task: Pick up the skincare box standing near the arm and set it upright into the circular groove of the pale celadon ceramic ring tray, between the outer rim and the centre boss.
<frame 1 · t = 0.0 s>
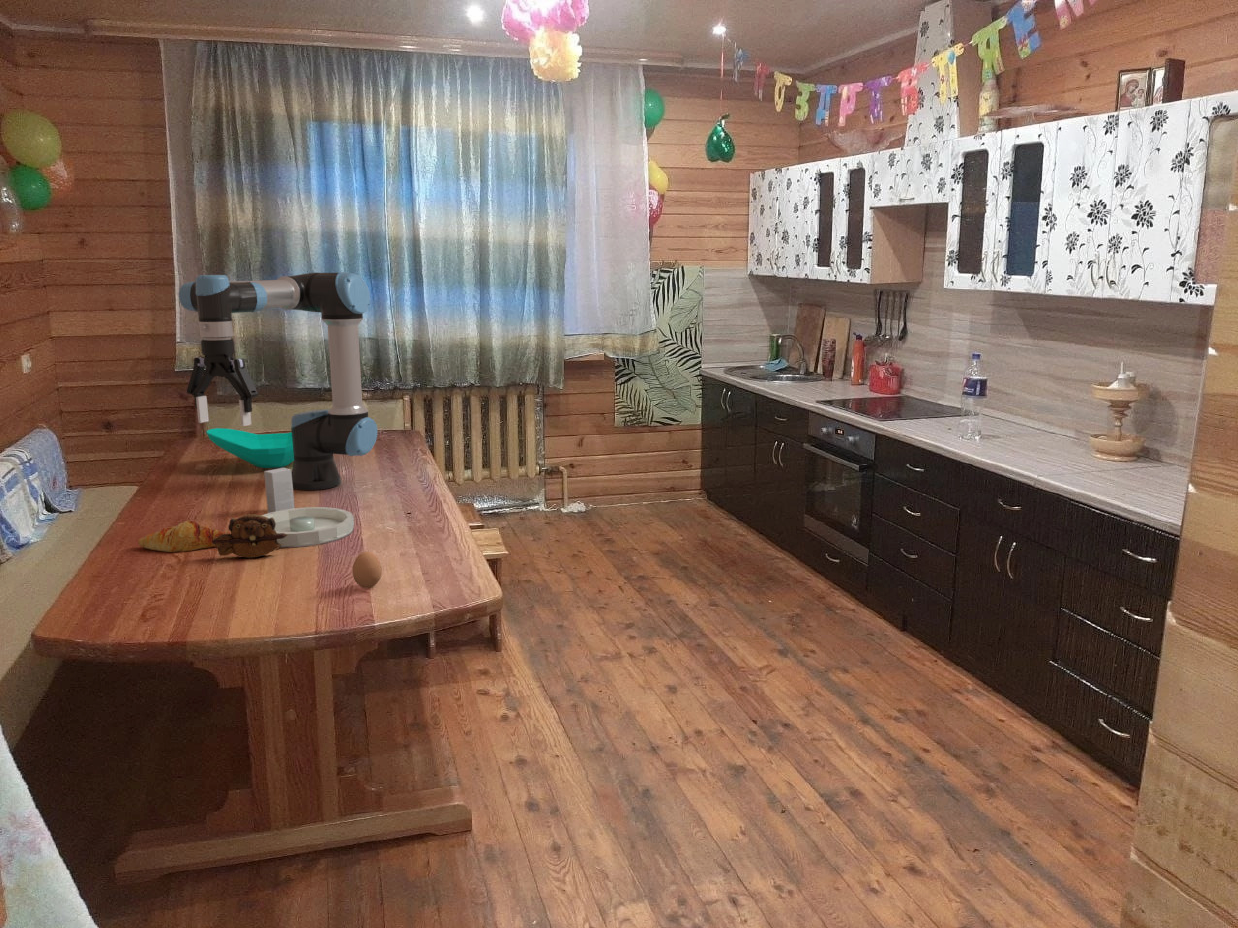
hand: (224, 423, 234), 28 cm above the table, tool pointing down, fingers open, 13 cm apart
croissant: (185, 548, 227), on the table
wooden carving: (251, 558, 219), on the table
egg: (368, 588, 198), on the table
table top decor: (272, 467, 316), on the table
ring tray: (302, 532, 238), on the table
skincare box: (281, 513, 258), on the table
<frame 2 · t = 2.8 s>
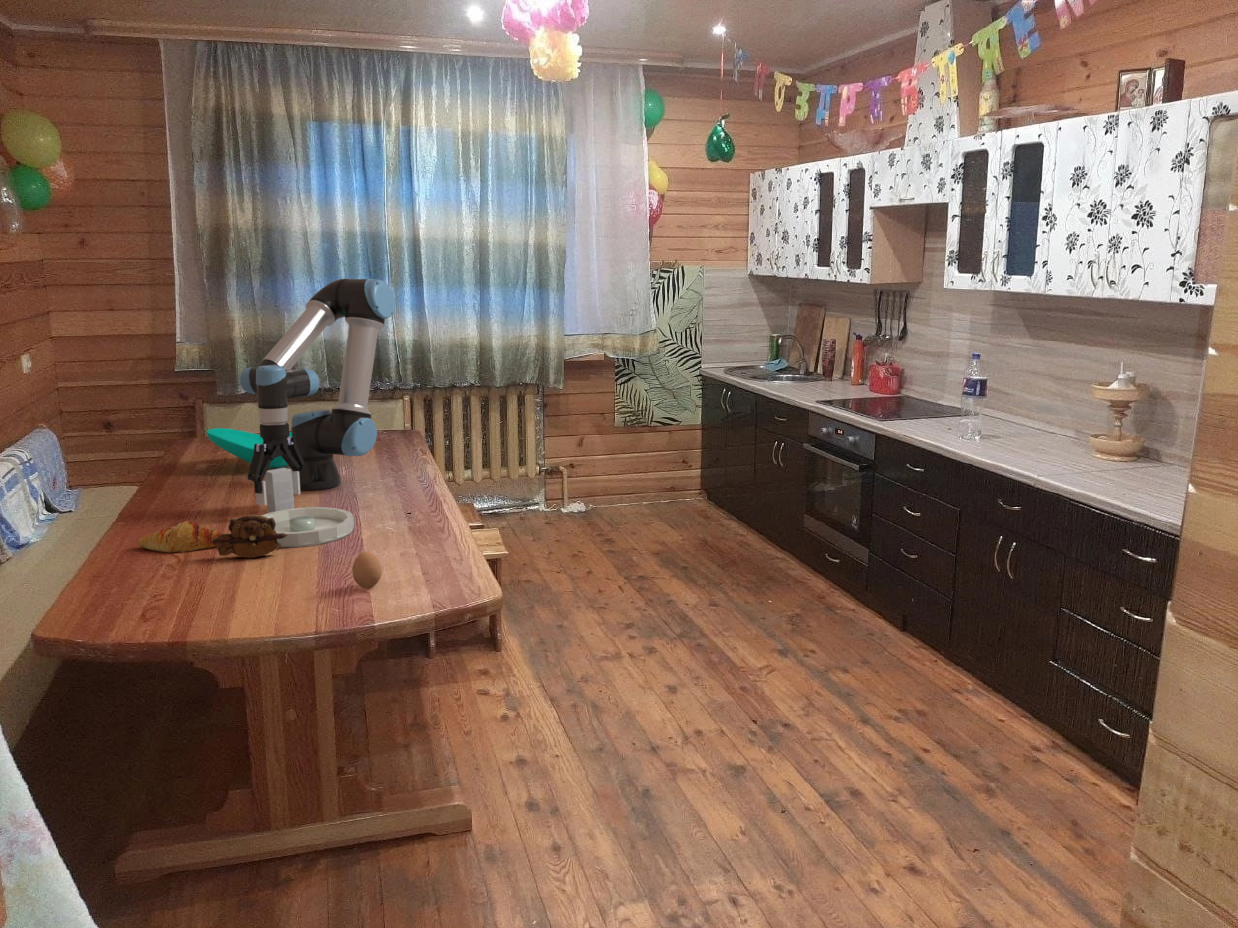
hand: (279, 499, 257), 4 cm above the table, tool pointing down, fingers open, 13 cm apart
nothing on the table moved.
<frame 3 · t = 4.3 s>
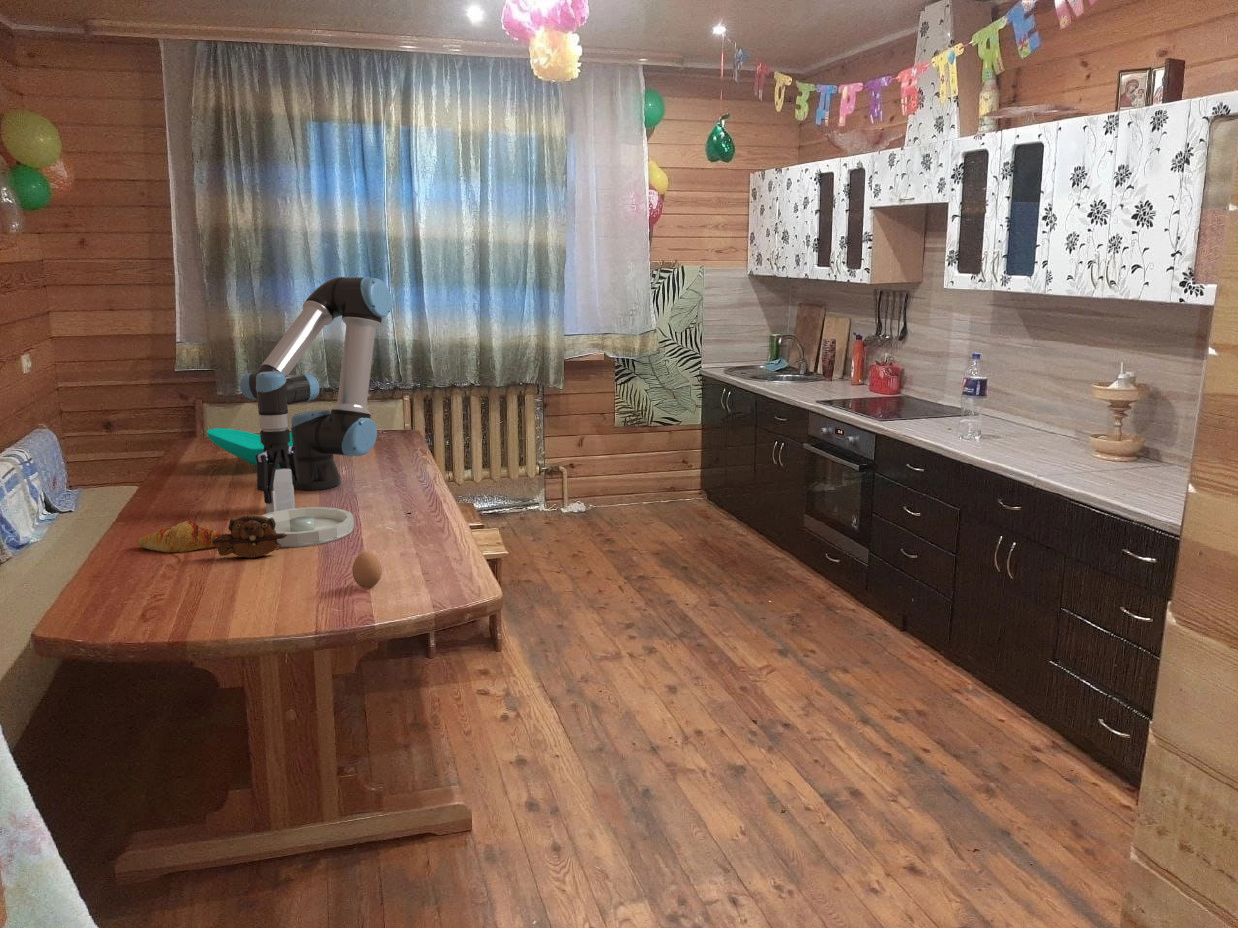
hand: (281, 510, 258), 0 cm above the table, tool pointing down, fingers closed on skincare box, 7 cm apart
skincare box: (281, 512, 258), on the table, touching gripper
everything else where it was.
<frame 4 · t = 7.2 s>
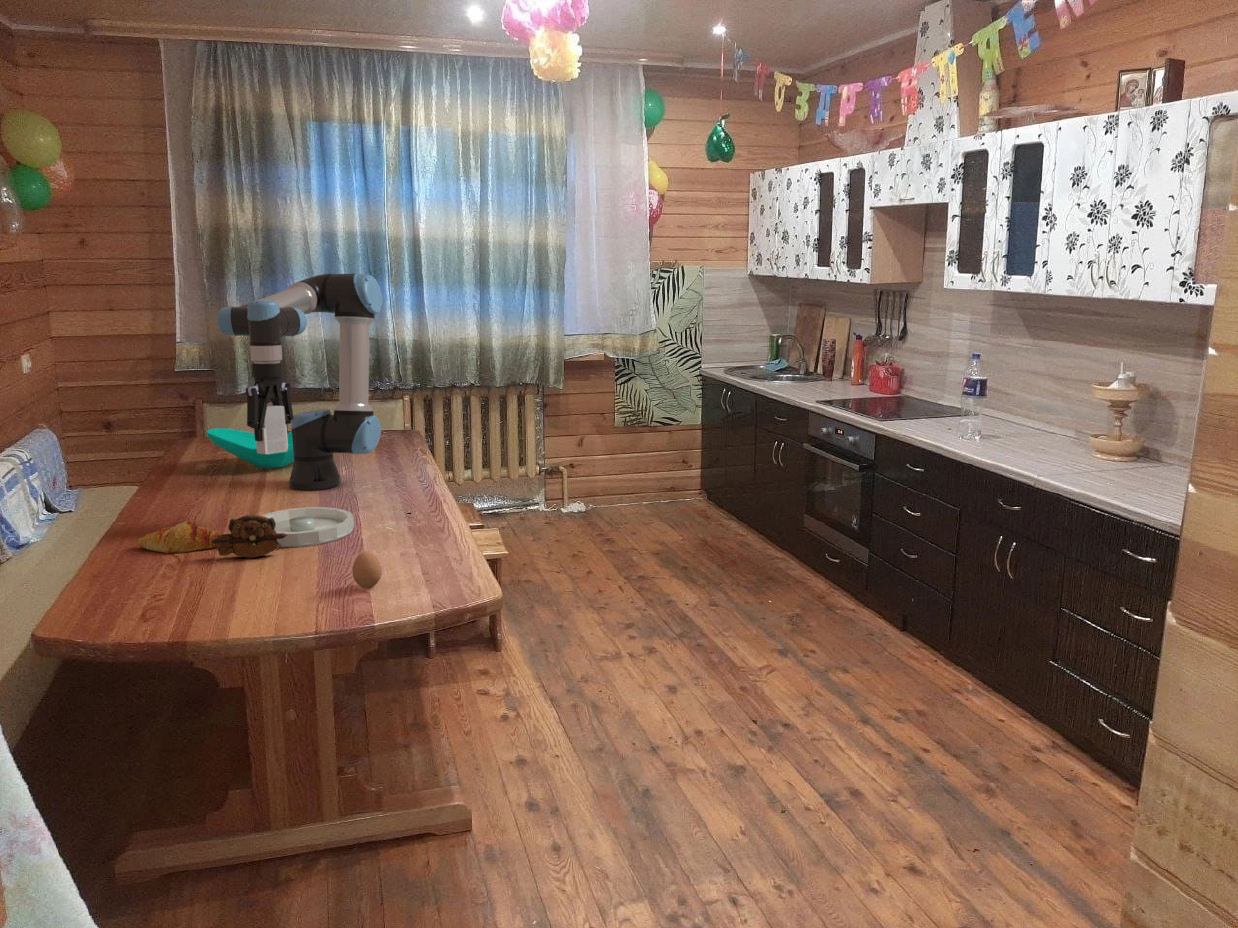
hand: (272, 450, 241), 20 cm above the table, tool pointing down, fingers closed on skincare box, 7 cm apart
skincare box: (272, 453, 242), point 19 cm above the table, touching gripper
everything else where it was.
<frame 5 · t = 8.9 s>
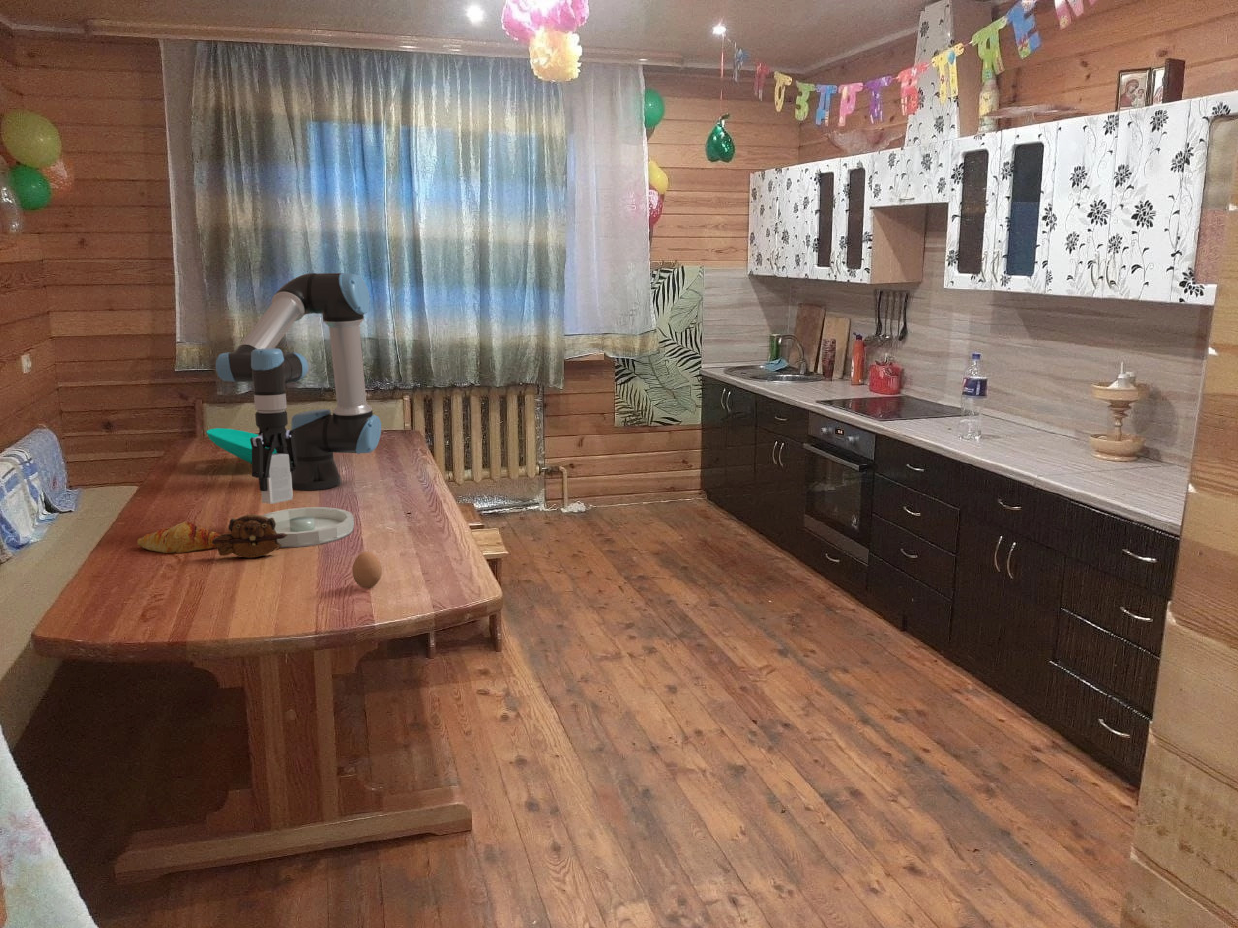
hand: (277, 499, 239), 8 cm above the table, tool pointing down, fingers closed on skincare box, 7 cm apart
skincare box: (277, 501, 239), point 8 cm above the table, touching gripper
everything else where it was.
when the fingers open (3 cm above the table, at t = 10.3 s): skincare box drops 2 cm, resting on ring tray.
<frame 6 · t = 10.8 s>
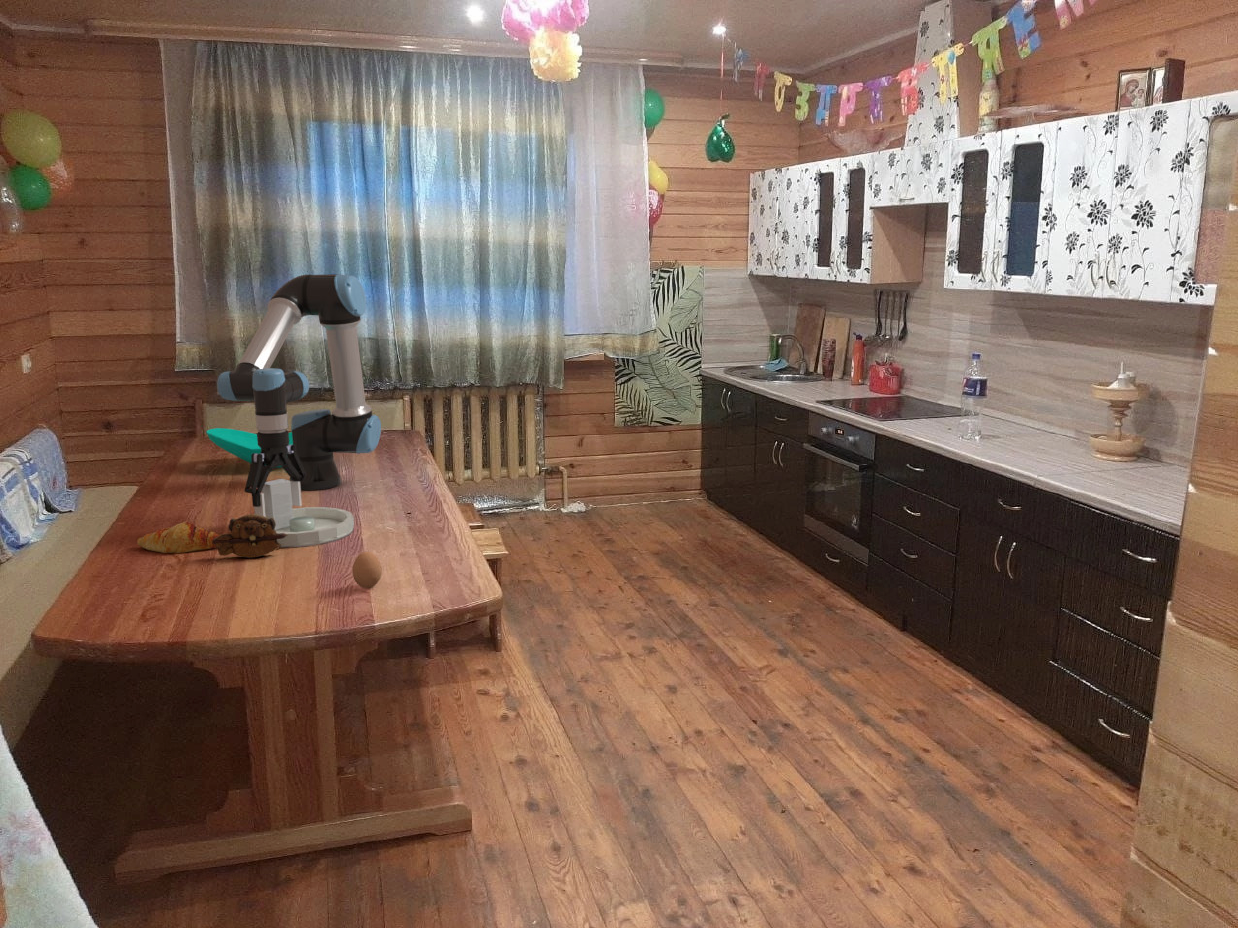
hand: (279, 511, 240), 5 cm above the table, tool pointing down, fingers open, 13 cm apart
skincare box: (279, 527, 240), point 1 cm above the table, touching ring tray
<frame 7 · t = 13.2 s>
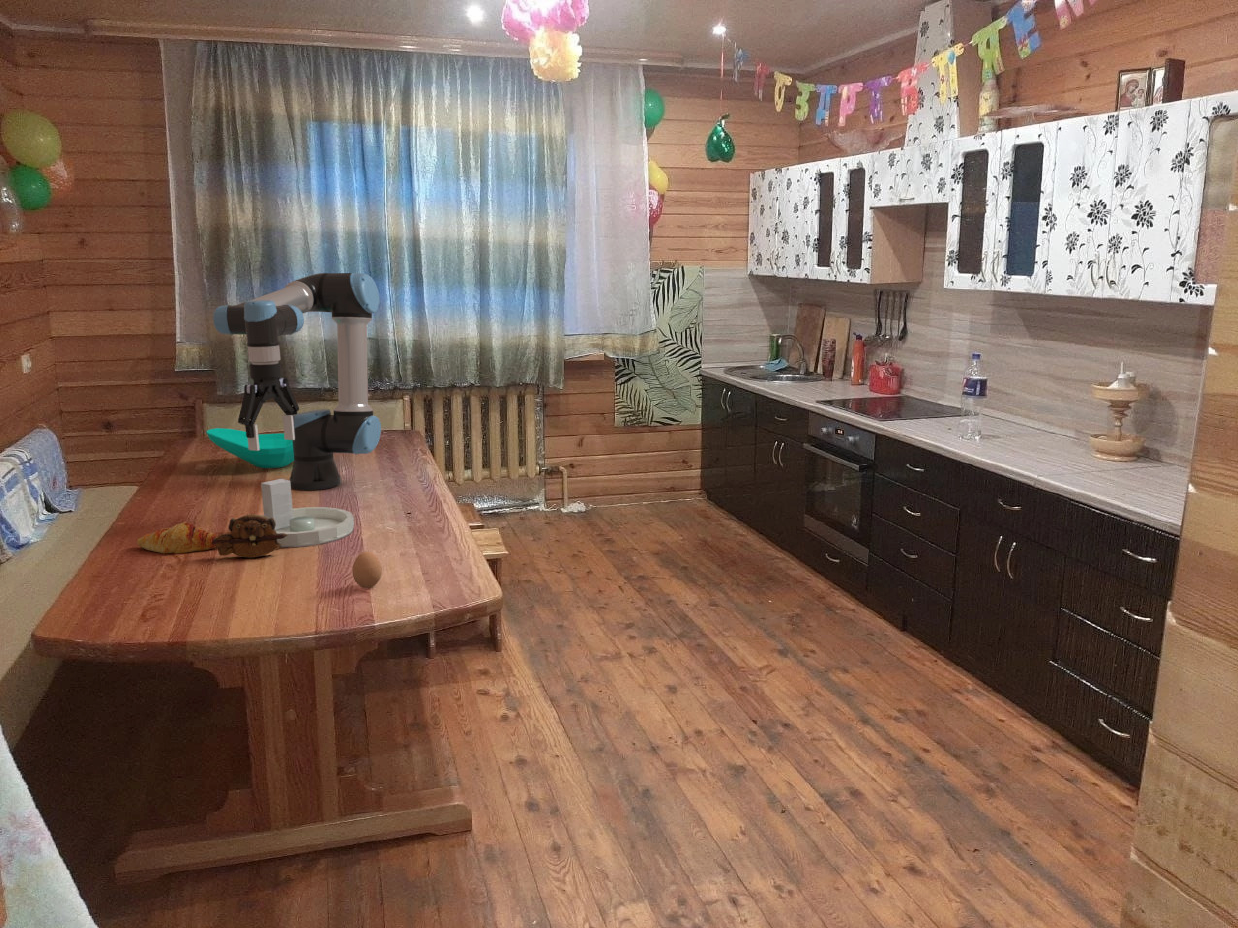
hand: (272, 444, 240), 22 cm above the table, tool pointing down, fingers open, 13 cm apart
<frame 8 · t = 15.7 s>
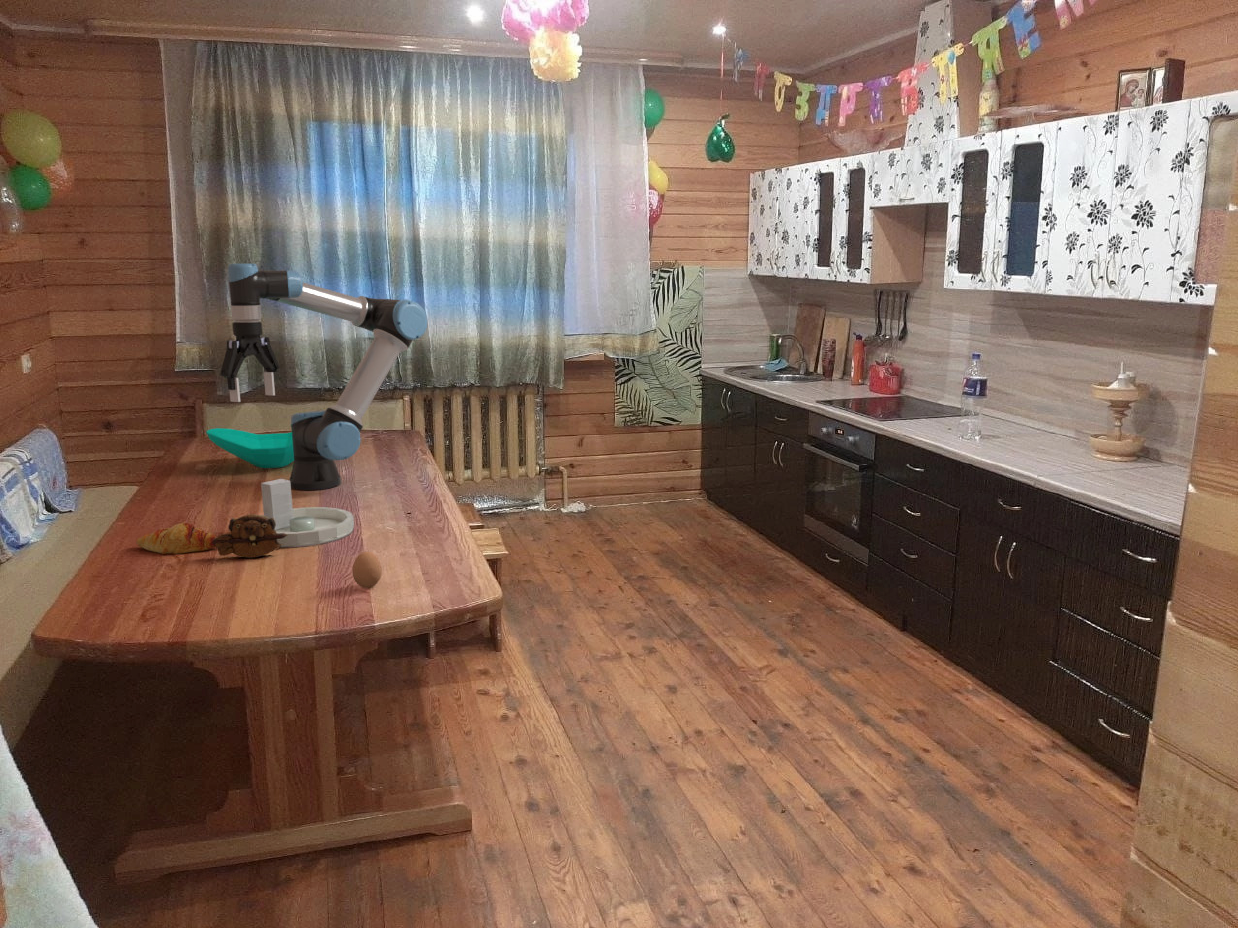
hand: (253, 398, 259), 31 cm above the table, tool pointing down, fingers open, 13 cm apart
at the end: skincare box inside the target area on the ring tray (0.3 cm from its centre), point 0.8 cm above the ring tray's base; skincare box tilted 0°; the gripper is holding nothing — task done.
